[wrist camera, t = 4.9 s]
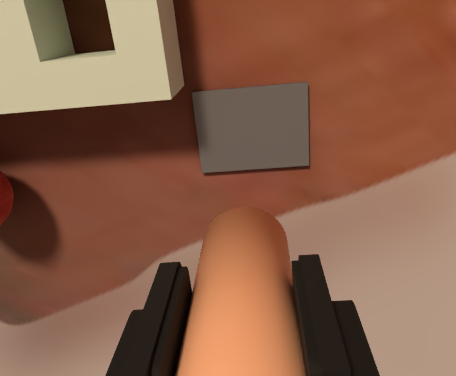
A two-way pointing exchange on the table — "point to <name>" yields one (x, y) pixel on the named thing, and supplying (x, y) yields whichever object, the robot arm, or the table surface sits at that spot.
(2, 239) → the table surface
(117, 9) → the socket block
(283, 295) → the peg
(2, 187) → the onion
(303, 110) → the mat
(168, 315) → the robot arm
